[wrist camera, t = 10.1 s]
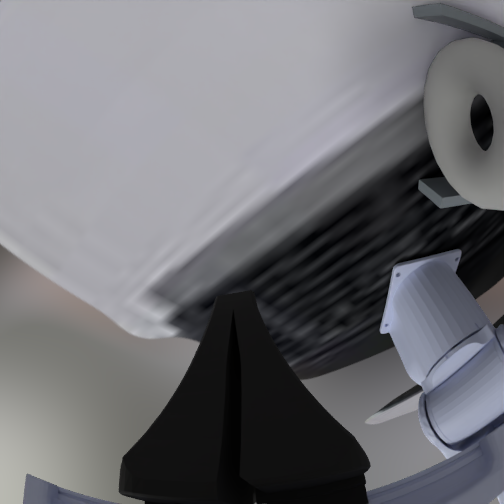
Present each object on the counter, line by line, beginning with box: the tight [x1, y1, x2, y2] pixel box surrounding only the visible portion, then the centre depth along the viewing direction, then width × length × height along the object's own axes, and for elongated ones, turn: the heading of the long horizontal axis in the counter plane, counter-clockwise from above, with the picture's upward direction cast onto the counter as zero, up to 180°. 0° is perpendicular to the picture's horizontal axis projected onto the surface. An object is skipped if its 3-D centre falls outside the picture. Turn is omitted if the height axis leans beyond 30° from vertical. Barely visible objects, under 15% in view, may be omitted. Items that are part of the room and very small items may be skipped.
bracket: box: [413, 3, 504, 208], centre depth 13 cm, size 14×9×3 cm
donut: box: [423, 38, 504, 210], centre depth 11 cm, size 10×4×10 cm, turn 10°
